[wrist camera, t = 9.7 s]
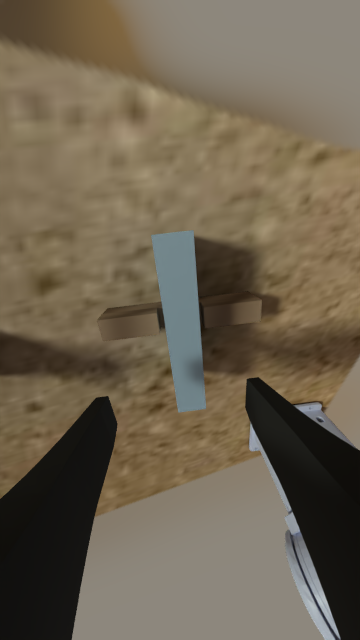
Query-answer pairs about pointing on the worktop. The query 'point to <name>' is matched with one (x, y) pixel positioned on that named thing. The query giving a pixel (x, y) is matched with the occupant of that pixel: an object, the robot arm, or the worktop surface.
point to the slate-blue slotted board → (181, 315)
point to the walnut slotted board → (151, 315)
